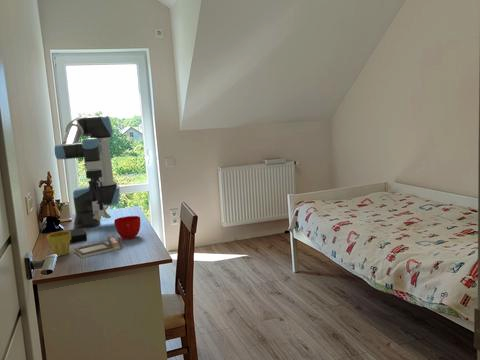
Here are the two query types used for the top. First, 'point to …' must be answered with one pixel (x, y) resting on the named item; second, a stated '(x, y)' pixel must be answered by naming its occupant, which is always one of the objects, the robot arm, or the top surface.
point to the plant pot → (60, 242)
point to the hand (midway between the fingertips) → (99, 215)
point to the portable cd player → (77, 235)
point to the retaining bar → (112, 241)
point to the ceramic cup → (128, 226)
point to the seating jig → (97, 248)
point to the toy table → (98, 214)
